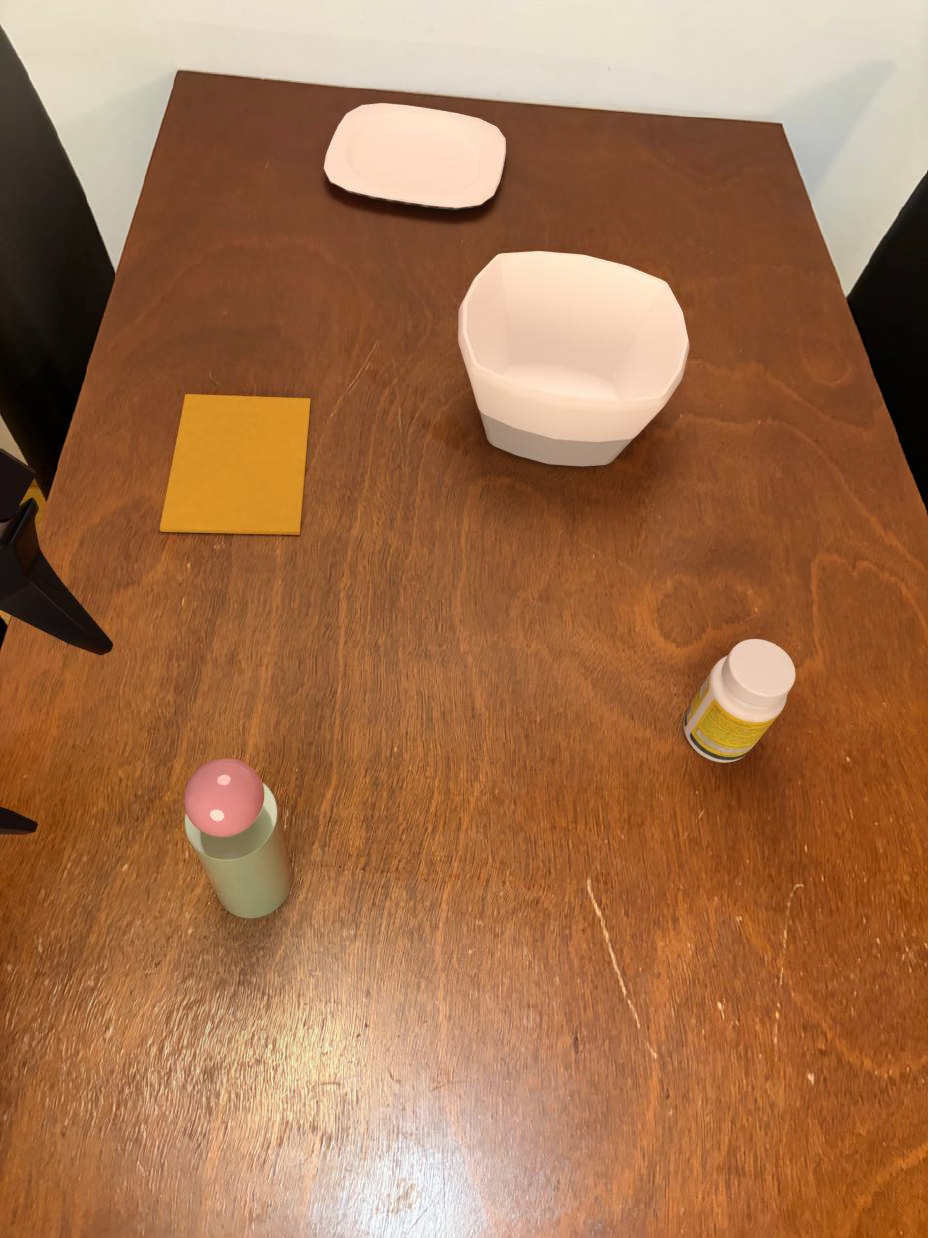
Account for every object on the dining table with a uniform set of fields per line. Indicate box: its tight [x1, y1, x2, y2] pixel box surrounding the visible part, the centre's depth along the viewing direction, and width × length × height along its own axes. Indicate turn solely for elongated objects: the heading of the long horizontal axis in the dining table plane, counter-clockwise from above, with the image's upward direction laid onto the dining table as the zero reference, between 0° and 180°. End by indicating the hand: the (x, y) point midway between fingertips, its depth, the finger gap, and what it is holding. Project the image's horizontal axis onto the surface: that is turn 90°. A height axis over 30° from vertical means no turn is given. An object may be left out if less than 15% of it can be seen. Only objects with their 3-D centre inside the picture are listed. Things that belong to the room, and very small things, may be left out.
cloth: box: [159, 393, 312, 536], centre depth 68 cm, size 14×10×1 cm
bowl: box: [457, 250, 690, 467], centre depth 71 cm, size 18×18×9 cm
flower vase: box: [183, 757, 294, 919], centre depth 45 cm, size 4×4×14 cm
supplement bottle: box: [682, 638, 796, 764], centre depth 56 cm, size 5×5×8 cm
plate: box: [323, 102, 507, 211], centre depth 93 cm, size 18×18×2 cm
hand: (72, 734), depth 41 cm, fingers open, 9 cm apart
